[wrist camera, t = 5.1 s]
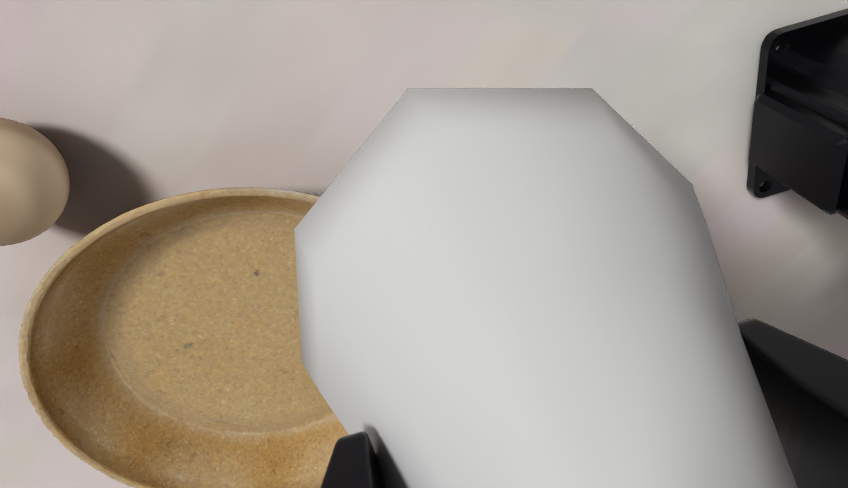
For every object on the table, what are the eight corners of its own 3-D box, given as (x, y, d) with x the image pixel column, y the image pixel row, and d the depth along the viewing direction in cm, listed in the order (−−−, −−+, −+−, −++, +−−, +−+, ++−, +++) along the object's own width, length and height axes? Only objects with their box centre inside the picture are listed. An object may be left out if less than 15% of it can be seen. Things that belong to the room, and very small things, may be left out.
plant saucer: (192, 497, 28) (184, 550, 26) (-61, 261, 20) (-103, 313, 18) (489, 375, 28) (506, 419, 25) (358, 80, 19) (368, 109, 17)
